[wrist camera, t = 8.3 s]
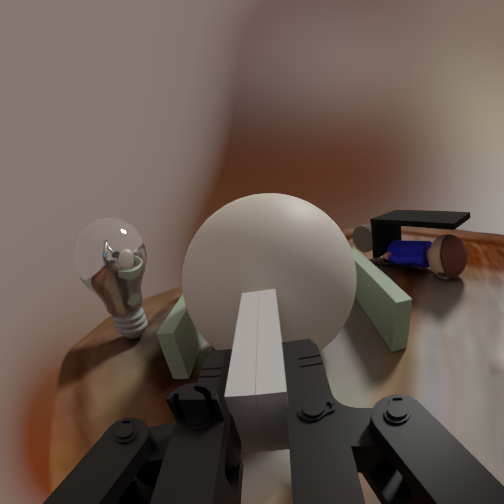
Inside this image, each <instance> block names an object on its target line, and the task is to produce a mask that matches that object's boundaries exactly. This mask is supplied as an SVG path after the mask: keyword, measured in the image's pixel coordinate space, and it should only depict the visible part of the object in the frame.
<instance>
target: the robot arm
mask: <svg viewBox="0 0 504 504" xmlns="http://www.w3.org/2000/svg"><path fill="white" fill-rule="evenodd" d="M166 401H167V403H168V405H169V407H170V409H171V411H172V413H173V415H174V417H175V418H176V421H175V422H173V423H170V424H166V425H161V426H155V427H149V428H148V427H147V425H146V424H145V422H143V421H141V420H140V419H136V418H125V419H122V420H119V421H117V422H115V423H114V424H113V425H112V426H110V427H109V429H108V430H107V431H106V432H105V433H104V434H103V435H102V437H101V438H100V439H99V440H98V441H97V442H96V444H95V445H94V446H93V447H92V448H91V449H90V450H89V452H88V453H87V454H86V455H85V456H84V457H83V458H82V460H81V461H80V462H79V463H78V464H77V465H76V466H75V468H74V469H73V470H72V471H71V472H70V473H69V474H68V476H67V477H66V478H65V479H64V480H63V481H62V482H61V484H60V485H59V486H58V487H57V488H56V489H55V490H54V491H53V493H52V494H51V495H50V496H49V497H48V498H47V500H46V501H45V502H44V503H43V504H241V490H242V476H243V464H242V460H241V457H240V453H241V446H242V449H243V452H260V451H273V450H284V449H290V463H291V478H292V495H293V504H365V501H364V496H363V492H362V488H361V484H360V480H359V476H358V472H360V473H362V474H363V476H364V477H365V479H366V480H367V482H368V484H369V485H370V487H371V488H372V490H373V491H374V493H375V494H376V496H377V498H378V499H379V501H380V502H381V504H504V486H503V485H502V484H501V483H500V482H499V481H498V480H497V479H496V478H495V477H494V476H493V475H492V474H491V473H490V472H489V471H488V470H487V469H486V468H485V467H484V466H483V465H482V464H481V463H480V462H479V461H478V460H477V459H476V458H475V457H474V456H473V455H472V454H471V453H470V452H469V451H468V450H467V449H466V448H465V447H464V446H463V445H462V444H461V443H460V442H459V441H458V440H457V439H456V438H455V437H454V436H453V435H452V434H451V433H450V432H449V431H448V430H447V429H446V428H445V427H444V426H443V425H441V424H440V423H439V422H438V421H437V420H436V419H435V418H434V417H433V416H432V415H431V414H430V413H429V412H428V411H427V410H426V409H425V408H424V407H423V406H422V405H421V404H420V403H419V402H418V401H417V400H415V399H414V398H412V397H410V396H406V395H402V394H399V395H390V396H387V397H384V398H382V399H381V400H380V401H378V402H377V403H376V404H375V406H374V407H373V408H353V407H348V406H345V405H342V404H341V403H339V402H338V401H337V400H336V399H335V398H334V397H333V395H332V393H331V390H330V386H329V383H328V379H327V376H326V372H325V369H324V366H323V362H322V359H321V357H320V352H319V349H318V346H317V345H316V344H315V343H314V342H313V341H312V340H311V339H302V340H296V341H289V342H282V334H281V327H280V319H279V312H278V304H277V297H276V290H275V289H269V290H262V291H254V292H246V293H242V296H241V302H240V307H239V313H238V319H237V325H236V331H235V337H234V343H233V349H225V350H212V351H211V352H210V354H209V355H208V356H207V357H206V358H205V359H204V362H203V365H202V370H201V372H200V375H199V379H198V382H197V383H189V384H185V385H182V386H180V387H177V388H176V389H174V390H173V391H172V392H170V394H169V395H168V397H167V398H166Z"/></svg>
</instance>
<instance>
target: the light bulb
mask: <svg viewBox="0 0 504 504" xmlns="http://www.w3.org/2000/svg"><path fill="white" fill-rule="evenodd" d="M146 257H147V255H146V249H145V245H144V242H143V239H142V238H141V236H140V234H139V233H138V231H137V230H136V229H135V228H134V227H133V226H132V225H131V224H129V223H128V222H126V221H124V220H122V219H118V218H115V217H106V218H100V219H98V220H96V221H94V222H92V223H90V224H89V225H88V226H87V227H86V228H85V229H84V230H83V231H82V233H81V234H80V236H79V238H78V241H77V243H76V247H75V252H74V260H75V266H76V270H77V272H78V275H79V277H80V278H81V280H82V281H83V282H84V284H85V285H86V286H87V287H88V288H89V289H90V290H91V291H92V292H94V293H95V294H96V295H97V296H98V297H99V299H100V300H101V301H102V303H103V305H104V307H105V308H106V310H107V311H108V313H110V314H111V315H112V320H113V321H114V325H115V326H116V331H117V332H118V333H119V334H120V335H122V336H124V337H126V338H129V339H131V340H137V339H139V338H140V337H141V336H142V334H143V333H144V331H145V328H146V326H147V324H148V322H147V320H146V316H145V314H144V310H143V308H141V304H142V293H141V283H142V279H143V275H144V272H145V267H146Z"/></svg>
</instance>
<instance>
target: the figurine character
mask: <svg viewBox="0 0 504 504" xmlns="http://www.w3.org/2000/svg"><path fill="white" fill-rule="evenodd" d="M469 218H470V212H450V211H449V212H448V211H420V210H419V211H418V210H395V211H392V212H389V213H387V214H384V215H381V216H378V217H375V218H372V219H370V221H371V225H369V224H364V225H361V226H359V227H356V228H355V229H354V231H353V241H354V244H355V246H356V247H357V248H358V249H359V250H360V251H362V252H369V251H371V250H373V258H379V257H381V256H382V255H384V254H385V255H384V256H383V257H384V262H383V261H372V263H373V264H375V265H385V266H389V265H390V263H391V264H396V265H407V266H417V267H429V266H430V268H431V270H432V271H433V273H434V274H435V275H436V276H438V277H440V278H442V279H453V278H455V277H457V276H458V275H460V274H461V273H462V271H463V270H464V268H465V266H466V263H467V250H466V247H465V245H464V243H463V242H462V241H461V240H460V239H459V238H458V237H456V236H454V235H450V234H446V235H442V236H440V237H438V238H437V239H436V240H434V242H433V243H432V242H430V241H401V226H411V227H425V228H438V229H451V230H454V229H456V228H457V227H458V226H460V225H461V224H462V223H464V222H465V221H467V220H468V219H469Z"/></svg>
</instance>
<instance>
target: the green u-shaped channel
mask: <svg viewBox="0 0 504 504" xmlns="http://www.w3.org/2000/svg"><path fill="white" fill-rule="evenodd" d="M350 248H351V251H352V254H353V257H354V261H355V267H356V278H357V280H356V293H355V298H356V300H357V301H358V303H359V304H360V305H361V307H362V308H363V310H364V311H365V313H366V314H367V316H368V317H369V319H370V320H371V322H372V323H373V325H374V326H375V328H376V329H377V331H378V332H379V334H380V335H381V337H382V338H383V340H384V341H385V343H386V344H387V346H388V348H389V349H390V351H391V352H394V351H398V350H401V349H405V348H406V347H407V341H408V334H409V326H410V317H411V308H412V298H411V297H410V296H408V295H407V294H406V293H405V292H404V291H403V290H402V289H401V288H400V287H399V286H398V285H396V284H395V283H394V282H393V281H392V280H391V279H390V278H389V277H388V276H386V275H385V274H384V273H383V272H382V271H381V270H380V269H378V268H377V267H376V266H375V265H374V264H373V263H372V262H370V261H369V260H368V259H367V258H366V257H364V256H363V255H362V254H361V253H360V252H359V251H357V250H356V249H355V248H354V247H353V246H350ZM157 337H158V340H159V343H160V346H161V348H162V351H163V354H164V356H165V359H166V361H167V364H168V366H169V369H170V371H171V374H172V376H173V379H189V378H190V376H191V373H192V370H193V367H194V365H195V362H196V359H197V356H198V354H199V351H200V348H201V345H202V343H203V340H204V338H203V337H202V335H201V334H200V333H199V331H198V330H197V329H196V327H195V325H194V324H193V322H192V320H191V318H190V316H189V314H188V311H187V308H186V304H185V301H184V296H183V295H182V296H181V298H180V299H179V301H178V302H177V303H176V305H175V306H174V308H173V309H172V311H171V312H170V314H169V315H168V317H167V318H166V320H165V321H164V323H163V324H162V326H161V328H160V329H159V331H158V332H157Z"/></svg>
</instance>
